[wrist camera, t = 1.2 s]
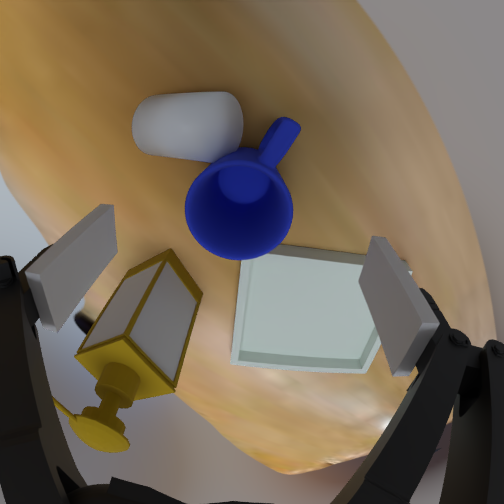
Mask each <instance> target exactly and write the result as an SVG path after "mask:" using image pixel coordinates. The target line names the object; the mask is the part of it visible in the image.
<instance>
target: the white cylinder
mask: <svg viewBox="0 0 504 504" xmlns="http://www.w3.org/2000/svg"><path fill="white" fill-rule="evenodd" d="M132 134H133V138H134V141H135V143H136V145H137V146H138V148H139V149H140V150H141V151H142V152H144V153H146V154H148V155H154V156H163V157H172V158H180V159H187V160H195V161H202V162H209V163H214V162H215V161H217V160H218V159H220V158H222V157H223V156H225V155H227V154H230V153H232V152H235V151H237V149H238V147H239V144H240V142H241V138H242V134H243V114H242V110H241V107H240V104H239V102H238V101H237V99H236V98H235V97H234V96H233V95H232V94H230V93H228V92H192V93H174V94H161V95H152V96H150V97H148V98H146V99H145V100H143V101H142V102H141V103H140V105H139V106H138V107H137V109H136V111H135V113H134V116H133V121H132Z"/></svg>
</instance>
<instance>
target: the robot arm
mask: <svg viewBox="0 0 504 504" xmlns="http://www.w3.org/2000/svg"><path fill="white" fill-rule="evenodd" d="M117 252H118V251H117V241H116V230H115V218H114V205H108V204H100V205H99V206H98V207H97V208H95V209H94V210H93V211H92V212H90V213H89V214H88V215H87V216H86V217H84V218H83V219H82V220H81V221H80V222H78V223H77V224H76V225H75V226H74V227H73V228H71V229H70V230H69V231H68V232H67V233H66V234H65V235H63V236H62V237H61V238H60V239H59V240H58V241H57V242H56V243H54V244H52V245H50V246H48V247H46V248H44V249H43V250H42V251H41V252H40V253H38V255H37V256H35V257H34V258H33V259H32V261H30V262H29V263H28V264H27V265H26V266H25V267H24V268H23V269H22V270H21V271H19V272H17V268H16V264H15V260H14V258H13V257H11V256H0V484H1V488H2V491H3V495H4V498H5V502H6V504H186V503H183V502H181V501H179V500H176V499H174V498H172V497H169V496H167V495H165V494H163V493H161V492H158V491H156V490H154V489H152V488H150V487H147V486H143V485H139V484H135V483H132V482H128V481H124V480H121V479H118V478H114V477H112V478H111V481H110V484H97V485H90V486H87V484H86V482H85V481H84V479H83V477H82V476H81V474H80V473H79V471H78V469H77V467H76V465H75V462H74V460H73V457H72V455H71V452H70V450H69V447H68V445H67V441H66V439H65V436H64V433H63V430H62V427H61V424H60V421H59V418H58V415H57V412H56V409H55V405H54V401H53V398H52V395H51V391H50V387H49V383H48V379H47V376H46V371H45V366H44V362H43V357H42V352H41V348H40V342H39V337H38V331H37V328H36V325H35V323H36V321H37V320H38V319H39V318H40V321H41V323H42V326H43V328H44V329H46V330H50V331H53V332H57V333H58V332H59V330H60V328H61V327H62V326H63V324H64V323H65V321H66V320H67V318H68V317H69V316H70V314H71V313H72V312H73V310H74V309H75V307H76V306H77V305H78V303H79V302H80V300H81V299H82V298H83V296H84V295H85V294H86V292H87V291H88V290H89V288H90V287H91V286H92V284H93V283H94V282H95V280H96V279H97V278H98V276H99V275H100V274H101V273H102V271H103V270H104V269H105V267H106V266H107V265H108V264H109V262H110V261H111V260H112V259H113V257H114V256H115V255H116V254H117ZM358 282H359V285H360V288H361V290H362V293H363V295H364V298H365V300H366V303H367V305H368V308H369V311H370V313H371V316H372V319H373V321H374V324H375V327H376V330H377V332H378V335H379V338H380V341H381V343H382V346H383V349H384V352H385V355H386V358H387V361H388V364H389V367H390V370H391V373H392V376H409V375H410V373H411V372H412V370H413V369H414V367H415V365H416V367H417V370H418V372H419V373H418V374H417V376H416V378H415V379H414V380H413V382H412V383H411V385H410V386H409V388H408V389H407V391H408V392H407V394H406V396H405V397H404V399H403V401H402V403H401V404H400V406H399V408H398V409H397V411H396V413H395V415H394V416H393V418H392V419H391V421H390V423H389V424H388V426H387V427H386V429H385V431H384V432H383V434H382V435H381V437H380V438H379V440H378V441H377V443H376V444H375V446H374V447H373V449H372V450H371V452H370V453H369V454H368V456H367V457H366V459H365V460H364V461H363V463H362V464H361V466H360V467H359V468H358V470H357V471H356V472H355V474H354V475H353V476H352V478H351V479H350V480H349V481H348V483H347V484H346V485H345V487H344V488H343V489H342V490H341V492H340V493H339V494H338V495H337V496H336V498H335V499H334V500H333V501H332V502H331V503H330V504H410V503H409V502H410V499H411V497H412V495H413V493H414V491H415V489H416V488H417V486H418V484H419V482H420V480H421V478H422V476H423V474H424V472H425V470H426V468H427V466H428V464H429V462H430V460H431V458H432V456H433V454H434V452H435V449H436V447H437V445H438V443H439V440H440V438H441V436H442V433H443V431H444V428H445V426H446V423H447V421H448V418H449V416H450V413H451V410H452V408H453V420H452V431H451V439H450V447H449V454H448V461H447V467H446V473H445V478H444V483H443V488H442V493H441V497H440V502H439V504H504V344H503V343H501V342H499V341H497V340H488V341H487V342H486V344H485V346H484V347H483V348H480V347H476V346H472V345H471V342H470V340H469V338H468V337H467V336H466V335H465V334H464V333H462V332H461V331H459V330H457V329H452V328H450V326H449V324H448V322H447V321H446V319H445V317H444V316H443V314H442V312H441V311H439V308H438V306H437V304H436V303H435V301H434V300H433V298H432V296H431V295H430V294H429V293H428V292H427V291H425V290H424V289H423V288H418V286H417V284H416V283H415V281H414V280H413V278H412V276H411V275H410V273H409V272H408V270H407V269H406V267H405V266H404V264H403V263H402V261H401V260H400V258H399V256H398V255H397V254H396V252H395V251H394V249H393V248H392V246H391V245H390V243H389V242H388V240H387V239H386V238H385V237H378V236H372V238H371V242H370V245H369V248H368V252H367V255H366V258H365V261H364V265H363V268H362V271H361V274H360V277H359V280H358ZM453 405H454V407H453ZM209 504H271V503H249V502H238V501H230V502H220V503H209Z"/></svg>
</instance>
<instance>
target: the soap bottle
mask: <svg viewBox="0 0 504 504" xmlns="http://www.w3.org/2000/svg"><path fill="white" fill-rule="evenodd" d="M202 295H203V293H202V291H201V290H200V289H199V287H198V286H197V284H196V283H195V282H194V280H193V279H192V277H191V276H190V275H189V273H188V272H187V270H186V269H185V267H184V266H183V265H182V263H181V262H180V260H179V259H178V257H177V256H176V255H175V253H174V252H173V250H172V249H171V248H170V249H169V250H167V251H165V252H163V253H161V254H159V255H157V256H155V257H153V258H151V259H149V260H147V261H145V262H143V263H142V264H140V265H138V266H136V267H134V268H132V269H130V270H128V272H127V273H126V275H125V276H124V278H123V279H122V281H121V282H120V284H119V285H118V287H117V288H116V290H115V291H114V293H113V294H112V296H111V297H110V299H109V300H108V302H107V303H106V305H105V307H104V308H103V310H102V311H101V313H100V314H99V316H98V318H97V319H96V321H95V322H94V324H93V326H92V327H91V329H90V331H89V332H88V334H87V335H86V337H85V339H84V340H83V342H82V344H81V346H80V347H79V349H78V351H77V354H76V355H75V356H74V357H75V358H76V359H77V360H78V361H79V362H80V363H81V364H82V365H83V366H84V367H85V368H86V369H87V370H88V371H89V372H90V373H91V374H92V375H93V376H94V377H95V378H96V379H97V380H98V382H97V384H96V386H95V391H96V394H97V395H98V396H99V397H100V398H101V399H102V401H101V404H100V406H99V408H97V407H90V406H87V407H85V408H84V409H83V411H82V414H81V415H79V414H74V415H73V414H72V413H71V412H70V411H68V410H67V409H66V408H65V407H64V406H63V405H61V404H60V403H59V402H58V401H57V400H56V399H55V398H54V397H53V396H52V398H53V401H54V405H55V406H56V407H57V408H58V409H59V410H60V411H62V412H63V413H64V414H65V415H66V416H67V417H69V424H70V426H71V428H72V429H73V431H74V432H75V433H76V435H77V436H78V437H79V438H80V439H81V440H82V441H83V442H84V443H85V444H87V445H88V446H90V447H92V448H94V449H96V450H99V451H103V452H109V453H113V452H115V453H116V452H122V451H126V450H128V448H129V446H130V443H129V441H128V439H127V438H126V437H125V436H124V435H123V434H124V431H125V425H124V423H123V422H122V421H121V420H120V419H119V418H118V417H116V413H117V411H118V408H129V407H131V406H132V404H133V401H135V400H140V399H146V398H150V397H156V396H160V395H164V394H170V393H174V392H175V391H176V390H175V389H174V388H176V387H177V383H178V379H179V376H180V372H181V368H182V365H183V361H184V358H185V354H186V350H187V347H188V343H189V340H190V336H191V333H192V329H193V326H194V322H195V319H196V315H197V312H198V308H199V305H200V302H201V298H202Z"/></svg>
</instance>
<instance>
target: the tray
mask: <svg viewBox="0 0 504 504" xmlns="http://www.w3.org/2000/svg"><path fill="white" fill-rule="evenodd" d="M365 258H366V255H360V254H353V253H345V252H338V251H330V250H322V249H314V248H307V247H299V246H291V245H283V244H279V245H278V246H277V247H276V248H274V249H273V250H272V251H270V252H269V253H267V254H265V255H263V256H260V257H258V258H254V259H249V260H242V261H241V270H240V279H239V288H238V297H237V306H236V316H235V325H234V334H233V344H232V353H231V362H230V364H233V365H241V366H250V367H260V368H270V369H281V370H294V371H310V372H330V373H366V372H367V370H368V368H369V366H370V364H371V362H372V361H373V359H374V357H375V355H376V353H377V351H378V349H379V347H380V345H381V341H380V338H379V335H378V332H377V330H376V327H375V324H374V321H373V319H372V316H371V313H370V311H369V308H368V305H367V303H366V300H365V298H364V295H363V293H362V290H361V288H360V285H359V282H358V280H359V277H360V274H361V271H362V268H363V265H364V261H365ZM401 261H402V263H403V264H404V266H405V267H406V269H407V270H408V272H409V273H410V275H411V274H412V272H413V271H412V270H411V268H410V267H409V265H408V264H407V262H406V261H405V260H401Z"/></svg>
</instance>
